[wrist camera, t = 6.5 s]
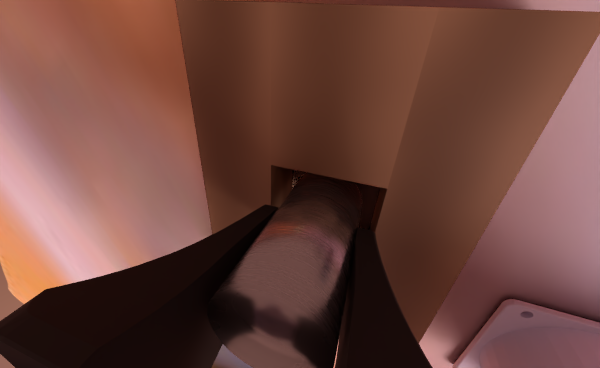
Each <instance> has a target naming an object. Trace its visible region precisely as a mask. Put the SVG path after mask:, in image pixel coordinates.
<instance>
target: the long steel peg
mask: <svg viewBox="0 0 600 368" xmlns="http://www.w3.org/2000/svg"><path fill="white" fill-rule="evenodd" d="M361 210H362V196H361V193H360V190H359V188H358V187H357V185H356V184H355V183H354V182H352V181H347V180H342V179H337V178H332V177H327V176H322V175H318V174H313V173H306V174H305V175H304V176H302V178H301V179H300V180H299V181H298V182H297V184H296V185H295V186H294V188H293V189H292V191H291V192H290V193H289V195H288V196H287V197H286V199H285V200H284V201H283V203H282V204H281V205H280V207H279V208H278V209H277V211H276V212H275V213H274V215H273V216H272V217H271V219H270V220H269V222H268V223H267V224H266V226H265V227H264V228H263V230H262V231H261V232H260V234H259V235H258V236H257V238H256V239H255V240H254V242H253V243H252V244H251V246H250V247H249V248H248V250H247V251H246V253H245V254H244V255H243V257H242V258H241V259H240V261H239V262H238V263H237V265H236V266H235V267H234V269H233V270H232V271H231V273H230V274H229V275H228V277H227V278H226V279H225V281H224V282H223V283H222V285H221V286H220V288H219V289H218V290H217V292H216V293H215V294H214V296H213V297H212V298H211V300H210V301H209V304H208V308H207V314H208V319H209V323H210V325H211V327H212V329H213V331H214V333H215V334H216V336H217V337H218V338H219V340H220V341H221V342H222V343H223V344H224V345H225V346H226V347H227V348H228V349H229V350H230V351H231V352H232V353H233V354H234V355H236V356H237V357H238V358H239V359H241V360H242V361H244V362H245V363H247V364H248V365H250V366H251V367H253V368H333V367H334V362H335V356H336V351H337V345H338V340H339V334H340V328H341V323H342V317H343V311H344V306H345V300H346V295H347V289H348V283H349V278H350V272H351V266H352V259H353V250H354V243H355V238H356V232H357V228H358V227H359V221H360V216H361Z"/></svg>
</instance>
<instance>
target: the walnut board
mask: <svg viewBox="0 0 600 368" xmlns="http://www.w3.org/2000/svg"><path fill="white" fill-rule="evenodd" d="M175 1H176V7H177V14H178V20H179V26H180V33H181V39H182V45H183V51H184V58H185V64H186V70H187V77H188V83H189V89H190V96H191V102H192V108H193V114H194V121H195V127H196V133H197V140H198V146H199V152H200V158H201V165H202V171H203V177H204V184H205V190H206V196H207V202H208V209H209V215H210V221H211V228H212V234H214V233H216V232H218V231H220V230H222V229H224V228H226V227H228V226H229V225H231V224H233V223H234V222H236V221H238V220H240V219H241V218H243V217H245V216H246V215H248V214H250V213H251V212H253V211H255V210H256V209H258V208H260V207H261V206H263V205H265V204H266V205H270V206H274V207H278V208H279V207H280V205H281V204H282V203H283V201H284V200H285V199H286V197H287V196H288V195H289V193H290V192H291V191H292V174H293V170H298V171H303V172H308V173H313V174H318V175H322V176H327V177H332V178H337V179H342V180H347V181H352V182H357V183H361V184H366V185H371V186H376V187H380V191H379V195H378V199H377V202H376V206H375V210H374V213H373V217H372V221H371V225H370V228H369V230H371V231H374V233H375V234H376V240H377V245H378V249H379V253H380V256H381V260H382V263H383V266H384V269H385V271H386V274H387V277H388V280H389V282H390V285H391V287H392V290H393V292H394V295H395V297H396V299H397V302H398V304H399V306H400V308H401V310H402V313H403V315H404V317H405V319H406V321H407V323H408V325H409V327H410V329H411V331H412V333H413V335H414V336H415V338H416V340H417V342H418V344H419V342H420V340H421V339H422V337H423V335H424V334H425V332H426V330H427V328H428V327H429V325H430V323H431V322H432V320H433V318H434V316H435V315H436V313H437V311H438V310H439V308H440V306H441V304H442V303H443V301H444V299H445V298H446V296H447V294H448V292H449V291H450V289H451V287H452V286H453V284H454V282H455V280H456V279H457V277H458V275H459V274H460V272H461V270H462V268H463V267H464V265H465V263H466V262H467V260H468V258H469V257H470V255H471V253H472V251H473V250H474V248H475V246H476V245H477V243H478V241H479V239H480V238H481V236H482V234H483V233H484V231H485V229H486V227H487V226H488V224H489V222H490V221H491V219H492V217H493V215H494V214H495V212H496V210H497V209H498V207H499V205H500V203H501V202H502V200H503V198H504V197H505V195H506V193H507V191H508V190H509V188H510V186H511V185H512V183H513V181H514V179H515V178H516V176H517V174H518V173H519V171H520V169H521V167H522V166H523V164H524V162H525V161H526V159H527V157H528V155H529V154H530V152H531V150H532V149H533V147H534V145H535V143H536V142H537V140H538V138H539V137H540V135H541V133H542V131H543V130H544V128H545V126H546V125H547V123H548V121H549V119H550V118H551V116H552V114H553V113H554V111H555V109H556V107H557V106H558V104H559V102H560V101H561V99H562V97H563V95H564V94H565V92H566V90H567V89H568V87H569V85H570V83H571V82H572V80H573V78H574V77H575V75H576V73H577V71H578V70H579V68H580V66H581V65H582V63H583V61H584V59H585V58H586V56H587V54H588V53H589V51H590V49H591V47H592V46H593V44H594V42H595V41H596V39H597V37H598V35H599V34H600V12H584V11H551V10H519V9H486V8H453V7H420V6H387V5H355V4H322V3H289V2H256V1H224V0H175ZM339 335H340V334H339Z"/></svg>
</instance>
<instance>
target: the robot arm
mask: <svg viewBox="0 0 600 368" xmlns="http://www.w3.org/2000/svg"><path fill="white" fill-rule="evenodd" d="M277 209H278V207H274V206H270V205H266V204H265V205H263V206H261V207H260V208H258V209H256V210H255V211H253V212H251V213H250V214H248V215H246V216H245V217H243V218H241V219H240V220H238V221H236V222H234V223H233V224H231V225H229V226H228V227H226V228H224V229H222V230H220V231H218V232H216V233H214V234H212V235H210V236H209V237H207V238H205V239H203V240H201V241H199V242H197V243H194V244H192V245H190V246H188V247H185V248H183V249H181V250H178V251H176V252H173V253H171V254H168V255H166V256H163V257H160V258H157V259H155V260H152V261H149V262H146V263H143V264H141V265H138V266H134V267H131V268H128V269H125V270H122V271H118V272H115V273H111V274H107V275H104V276H100V277H96V278H93V279H89V280H84V281H80V282H76V283H72V284H67V285H63V286H59V287H54V288H50V289H46V290H44V291H43V292H41V293H40V294H38V295H37V296H35V297H34V298H33V299H31V300H30V301H28V302H27V303H26V304H24V305H23V306H21V307H20V308H18V309H17V310H16V311H14V312H13V313H11V314H10V315H9V316H7V317H6V318H4V319H3V320H1V321H0V354H1V355H2V356H4V358H6V359H7V360H8V361H9V362H10V363H11V364H12V365H13V366H14V367H15V368H211V367H212V365H213V363H214V361H215V359H216V357H217V354H218V352H219V350H220V348H221V346H222V344H223V343H222V342H221V341H220V340H219V338H218V337H217V336H216V334H215V333H214V331H213V329H212V327H211V325H210V323H209V319H208V314H207V308H208V304H209V301H210V300H211V298H212V297H213V296H214V294H215V293H216V292H217V290H218V289H219V288H220V286H221V285H222V283H223V282H224V281H225V279H226V278H227V277H228V275H229V274H230V273H231V271H232V270H233V269H234V267H235V266H236V265H237V263H238V262H239V261H240V259H241V258H242V257H243V255H244V254H245V253H246V251H247V250H248V248H249V247H250V246H251V244H252V243H253V242H254V240H255V239H256V238H257V236H258V235H259V234H260V232H261V231H262V230H263V228H264V227H265V226H266V224H267V223H268V222H269V220H270V219H271V217H272V216H273V215H274V213H275V212H276V211H277ZM335 368H432V366H431V365H430V363H429V361H428V360H427V358H426V356H425V355H424V353H423V351H422V349H421V347H420V345H419V344H418V342H417V340H416V338H415V336H414V335H413V333H412V331H411V329H410V327H409V325H408V323H407V321H406V319H405V317H404V315H403V313H402V310H401V308H400V306H399V304H398V302H397V299H396V297H395V295H394V292H393V290H392V287H391V285H390V282H389V280H388V277H387V274H386V271H385V269H384V266H383V263H382V260H381V256H380V253H379V249H378V245H377V240H376V234H375V233H374V231H371V230H367V229H363V228H359V227H358V228H357V232H356V238H355V243H354V250H353V259H352V266H351V272H350V278H349V283H348V289H347V295H346V300H345V306H344V311H343V317H342V323H341V328H340V335H339V345H338V352H337V359H336V365H335ZM453 368H600V323H599V322H596V321H592V320H588V319H585V318H581V317H577V316H574V315H570V314H567V313H563V312H559V311H556V310H552V309H549V308H545V307H541V306H538V305H534V304H531V303H527V302H523V301H520V300H515V299H508V300H505V301H504V302H502V303H501V305H500V306H499V307H498V309H497V310H496V311H495V312H494V314H493V315H492V316H491V317H490V319H489V320H488V321H487V323H486V324H485V325H484V326H483V328H482V329H481V330H480V331H479V333H478V334H477V335H476V337H475V338H474V339H473V340H472V342H471V343H470V344H469V345H468V347H467V348H466V349H465V351H464V352H463V353H462V354H461V356H460V357H459V358H458V359H457V361H456V362H455V363H454V365H453Z"/></svg>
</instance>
